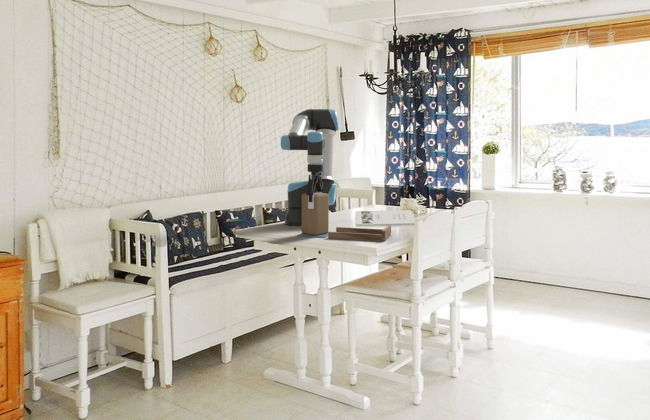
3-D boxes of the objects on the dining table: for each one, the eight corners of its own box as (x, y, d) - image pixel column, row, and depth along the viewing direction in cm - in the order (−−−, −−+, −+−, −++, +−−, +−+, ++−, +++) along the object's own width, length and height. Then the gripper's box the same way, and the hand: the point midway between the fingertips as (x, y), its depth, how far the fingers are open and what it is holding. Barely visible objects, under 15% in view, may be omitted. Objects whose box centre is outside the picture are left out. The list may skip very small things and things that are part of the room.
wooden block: (313, 231, 322) (313, 192, 320) (329, 233, 316) (329, 193, 314) (300, 233, 314) (300, 193, 312) (316, 236, 308) (316, 195, 306)
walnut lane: (336, 232, 320) (336, 223, 320) (390, 235, 313) (391, 225, 312) (328, 238, 305) (328, 228, 305) (384, 241, 298) (384, 230, 297)
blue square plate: (306, 231, 324) (305, 230, 324) (332, 233, 320) (332, 232, 320) (297, 236, 311) (297, 235, 310) (324, 237, 307) (324, 236, 307)
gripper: (315, 165, 298) (315, 210, 301) (329, 161, 321) (329, 203, 325) (299, 165, 300) (300, 210, 303) (315, 161, 323) (315, 203, 327)
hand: (315, 206), depth 314 cm, fingers open, 13 cm apart
